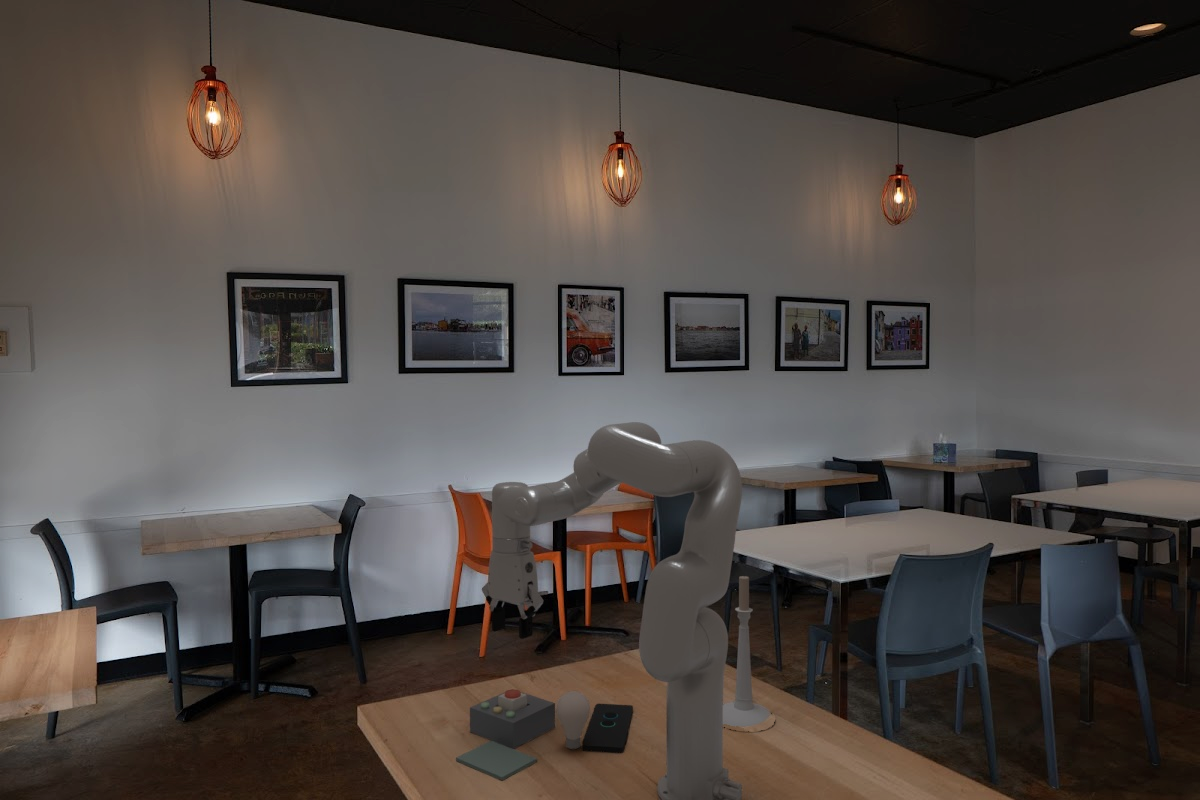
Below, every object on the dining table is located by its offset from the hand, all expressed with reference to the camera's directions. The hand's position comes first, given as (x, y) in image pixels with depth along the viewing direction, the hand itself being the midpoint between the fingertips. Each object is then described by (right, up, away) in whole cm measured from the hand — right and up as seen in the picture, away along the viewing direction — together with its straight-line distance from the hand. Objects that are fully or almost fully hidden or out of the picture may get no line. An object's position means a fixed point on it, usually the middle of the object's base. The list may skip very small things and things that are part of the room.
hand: (512, 632), depth 166 cm
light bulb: (+12, -20, -8) cm, 25 cm away
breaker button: (0, -16, +1) cm, 16 cm away
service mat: (-2, -20, -13) cm, 24 cm away
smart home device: (+19, -20, +1) cm, 28 cm away
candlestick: (+47, -20, +6) cm, 51 cm away
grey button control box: (0, -20, +1) cm, 20 cm away
